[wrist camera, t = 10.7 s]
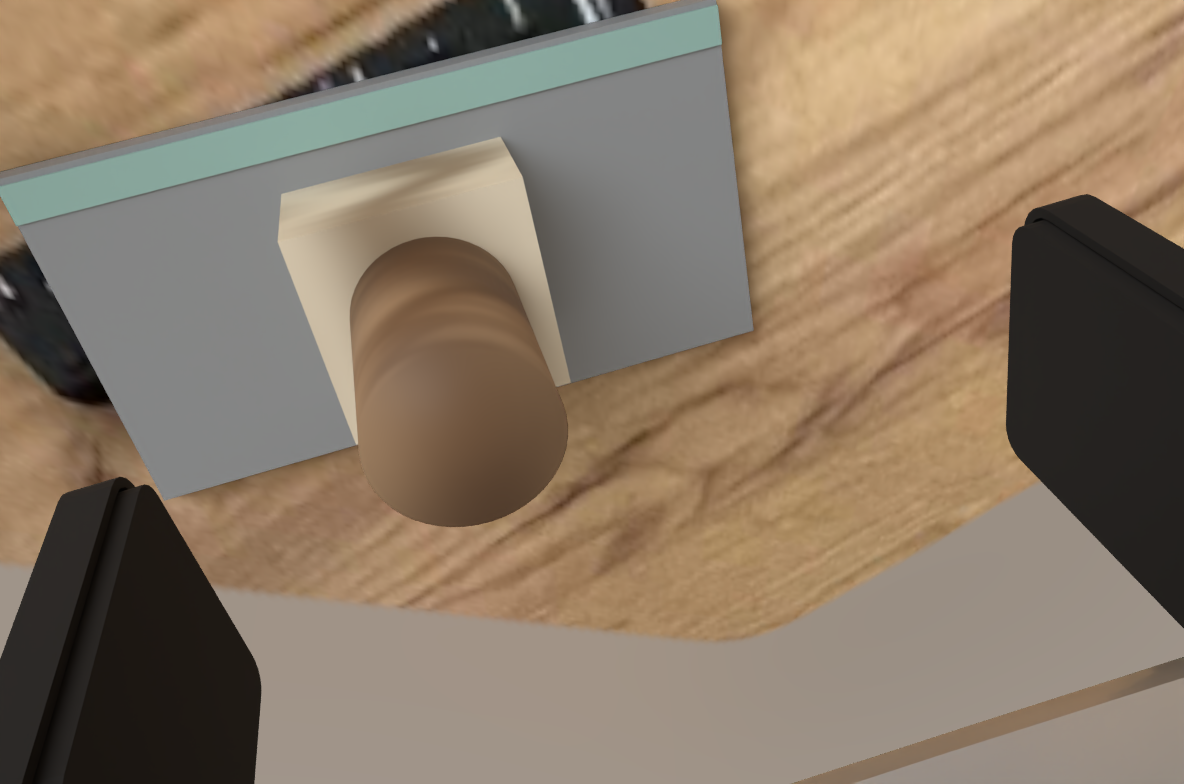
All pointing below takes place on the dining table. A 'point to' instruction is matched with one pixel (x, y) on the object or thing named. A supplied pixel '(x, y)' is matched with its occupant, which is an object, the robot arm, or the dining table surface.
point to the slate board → (371, 141)
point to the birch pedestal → (400, 214)
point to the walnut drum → (451, 386)
